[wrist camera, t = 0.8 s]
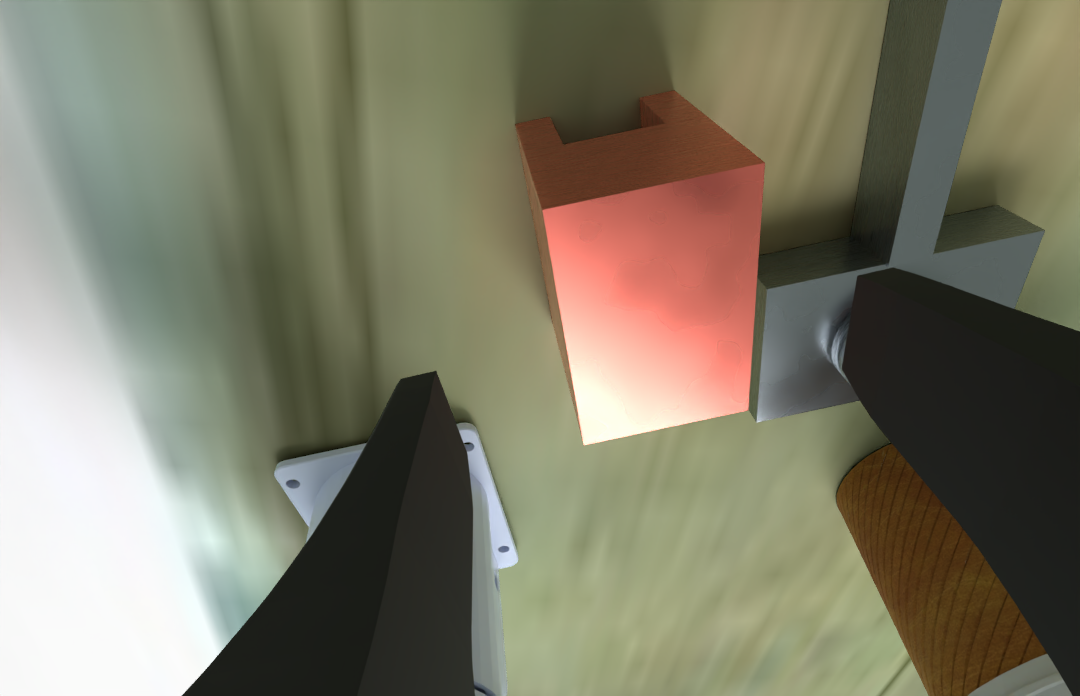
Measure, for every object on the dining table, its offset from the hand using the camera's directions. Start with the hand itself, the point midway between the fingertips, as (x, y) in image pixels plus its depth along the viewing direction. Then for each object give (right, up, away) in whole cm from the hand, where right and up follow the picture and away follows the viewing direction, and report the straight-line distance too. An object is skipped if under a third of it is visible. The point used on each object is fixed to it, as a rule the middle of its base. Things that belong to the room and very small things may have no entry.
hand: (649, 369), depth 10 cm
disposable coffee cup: (+16, -6, +19) cm, 25 cm away
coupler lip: (+9, +6, +9) cm, 14 cm away
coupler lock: (0, +4, +9) cm, 10 cm away
